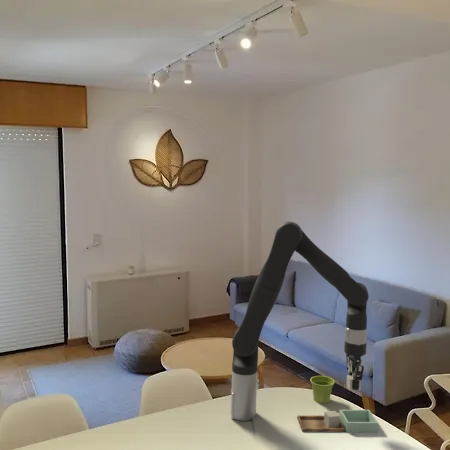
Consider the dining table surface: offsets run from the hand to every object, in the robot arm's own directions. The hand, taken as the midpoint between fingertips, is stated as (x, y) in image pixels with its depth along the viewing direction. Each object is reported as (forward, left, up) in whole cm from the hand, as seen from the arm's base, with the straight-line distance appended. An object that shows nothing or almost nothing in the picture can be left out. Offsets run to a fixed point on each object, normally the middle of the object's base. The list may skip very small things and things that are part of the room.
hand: (353, 386), depth 182 cm
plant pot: (-6, +21, -15) cm, 26 cm away
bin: (+2, 0, -15) cm, 15 cm away
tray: (-11, +1, -15) cm, 19 cm away
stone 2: (0, 0, -1) cm, 1 cm away
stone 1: (-7, +1, -14) cm, 16 cm away
